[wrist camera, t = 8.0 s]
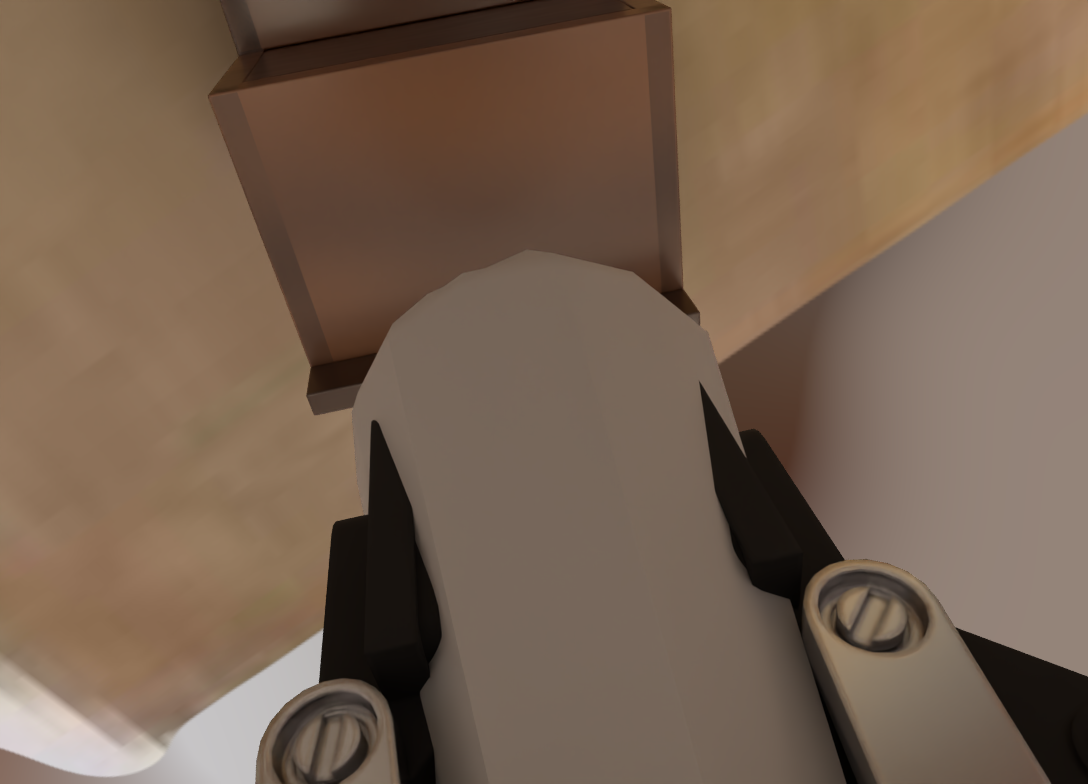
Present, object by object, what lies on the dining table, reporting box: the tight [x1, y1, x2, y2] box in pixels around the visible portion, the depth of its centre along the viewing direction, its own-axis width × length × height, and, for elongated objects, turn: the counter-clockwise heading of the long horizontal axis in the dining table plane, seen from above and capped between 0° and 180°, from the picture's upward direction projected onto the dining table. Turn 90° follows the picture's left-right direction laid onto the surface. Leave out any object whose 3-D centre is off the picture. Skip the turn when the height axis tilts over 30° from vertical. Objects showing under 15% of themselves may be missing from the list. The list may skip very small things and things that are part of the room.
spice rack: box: [208, 0, 700, 415], centre depth 23 cm, size 16×12×11 cm
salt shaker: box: [352, 250, 846, 784], centre depth 9 cm, size 6×6×13 cm
